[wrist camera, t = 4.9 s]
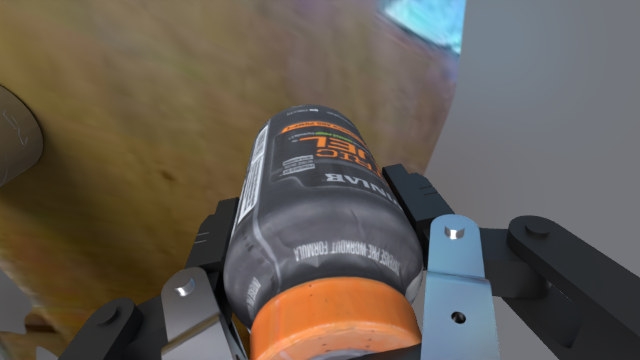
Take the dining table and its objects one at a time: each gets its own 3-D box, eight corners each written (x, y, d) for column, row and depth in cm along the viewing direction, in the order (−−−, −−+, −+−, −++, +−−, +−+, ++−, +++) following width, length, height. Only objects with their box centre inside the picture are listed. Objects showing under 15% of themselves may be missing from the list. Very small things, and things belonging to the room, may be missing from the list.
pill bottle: (383, 129, 16) (543, 335, 6) (332, 214, 18) (386, 456, 8) (276, 80, 14) (256, 263, 4) (235, 182, 16) (164, 443, 7)
